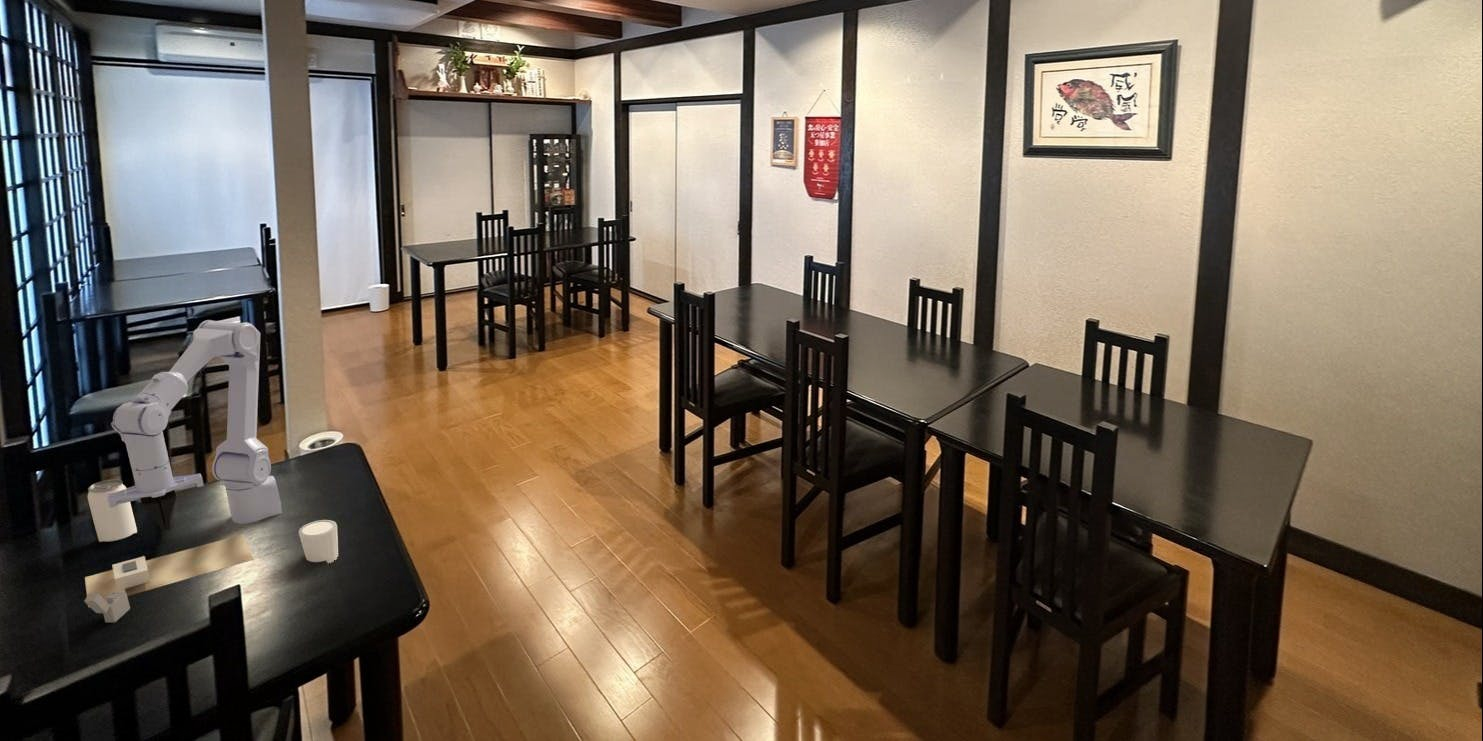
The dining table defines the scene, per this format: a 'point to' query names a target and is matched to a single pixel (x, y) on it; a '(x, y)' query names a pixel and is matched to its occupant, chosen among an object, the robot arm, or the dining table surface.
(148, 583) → the board
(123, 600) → the lighter
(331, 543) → the white cup
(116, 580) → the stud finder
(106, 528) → the can
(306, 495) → the dining table surface
